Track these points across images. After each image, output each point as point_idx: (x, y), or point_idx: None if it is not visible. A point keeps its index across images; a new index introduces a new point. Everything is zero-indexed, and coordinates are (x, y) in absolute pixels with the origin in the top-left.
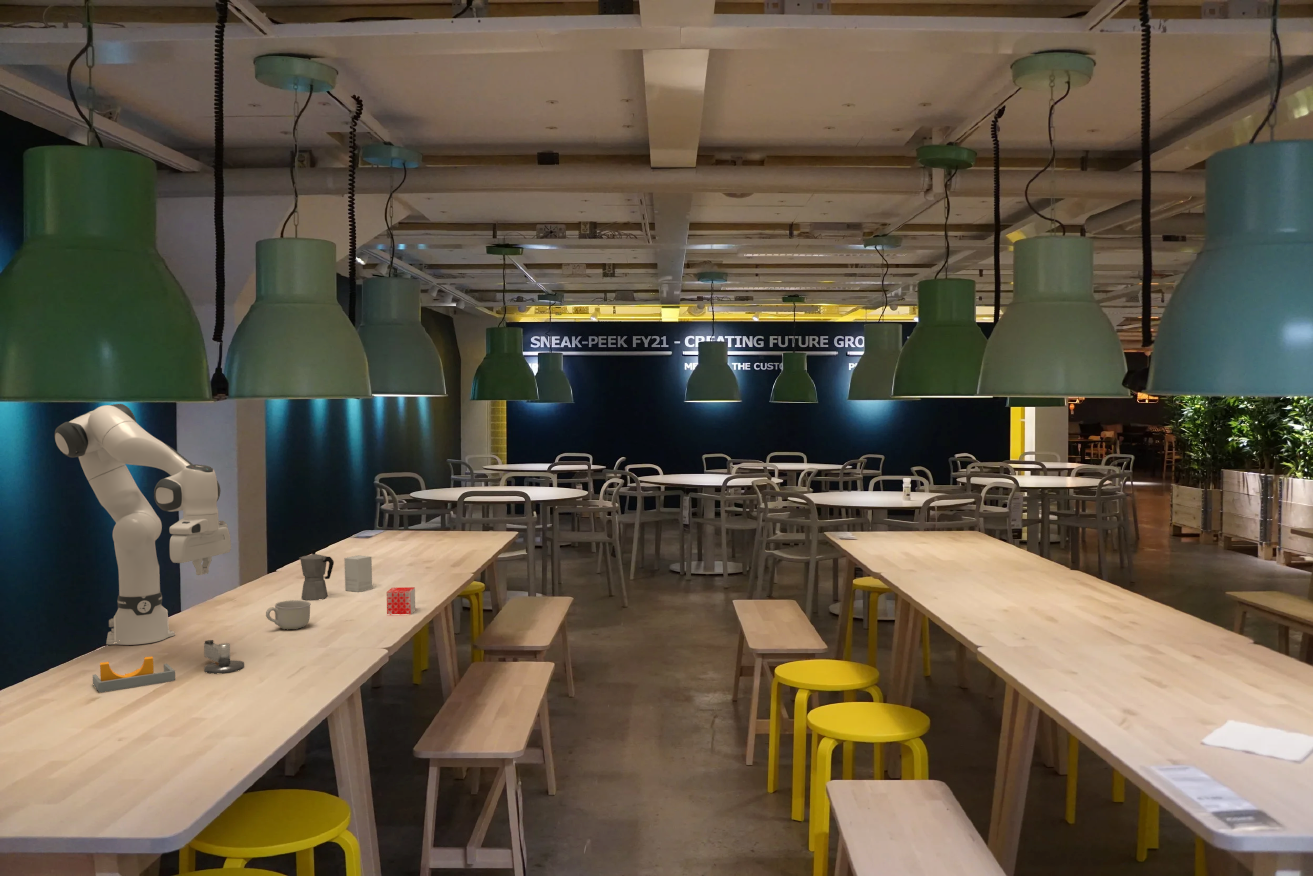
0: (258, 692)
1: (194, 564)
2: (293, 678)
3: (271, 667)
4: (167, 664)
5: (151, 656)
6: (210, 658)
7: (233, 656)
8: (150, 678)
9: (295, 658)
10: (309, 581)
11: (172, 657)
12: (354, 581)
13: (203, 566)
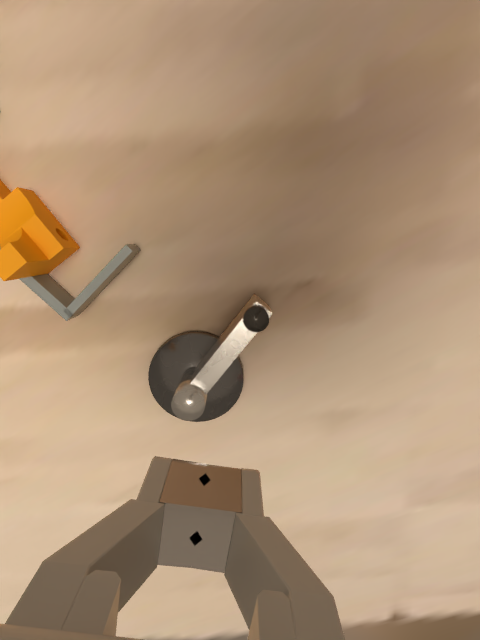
0: (38, 528)
1: (70, 559)
2: None
3: None
4: (123, 259)
5: (23, 260)
6: (228, 326)
7: (318, 334)
8: None
9: (303, 485)
10: None
11: (302, 160)
12: None
13: (236, 541)
